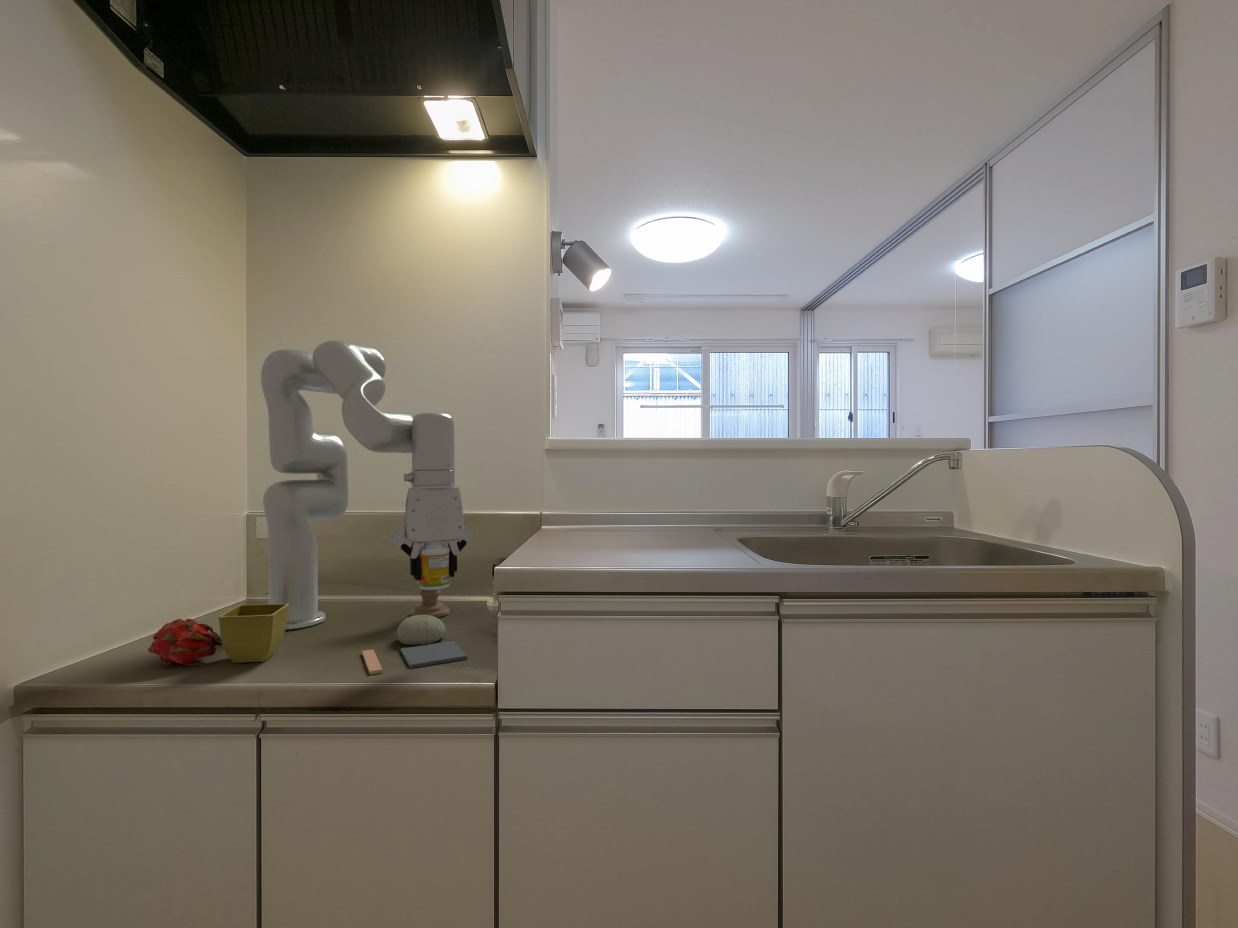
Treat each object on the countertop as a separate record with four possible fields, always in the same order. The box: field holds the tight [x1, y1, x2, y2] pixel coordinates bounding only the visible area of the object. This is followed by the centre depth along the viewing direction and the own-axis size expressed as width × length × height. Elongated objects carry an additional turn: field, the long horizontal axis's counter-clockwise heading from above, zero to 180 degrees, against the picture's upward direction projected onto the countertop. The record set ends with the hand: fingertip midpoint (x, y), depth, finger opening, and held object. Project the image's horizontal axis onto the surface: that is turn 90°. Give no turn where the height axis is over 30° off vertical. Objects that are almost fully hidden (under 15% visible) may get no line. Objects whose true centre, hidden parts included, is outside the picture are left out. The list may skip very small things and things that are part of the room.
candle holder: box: [409, 580, 450, 618], centre depth 138 cm, size 9×9×20 cm
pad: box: [399, 640, 468, 669], centre depth 109 cm, size 10×10×1 cm
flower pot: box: [218, 603, 289, 664], centre depth 107 cm, size 9×9×9 cm
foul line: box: [361, 648, 383, 675], centre depth 104 cm, size 12×2×1 cm, turn 29°
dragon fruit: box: [147, 618, 222, 667], centre depth 104 cm, size 8×8×12 cm
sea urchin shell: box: [396, 615, 447, 646], centre depth 118 cm, size 9×8×8 cm
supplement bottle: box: [418, 541, 450, 590], centre depth 108 cm, size 5×5×10 cm
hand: (434, 576), depth 109 cm, fingers closed on supplement bottle, 5 cm apart
